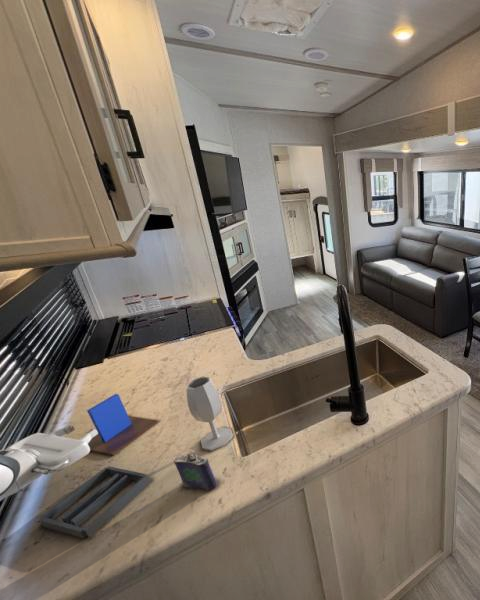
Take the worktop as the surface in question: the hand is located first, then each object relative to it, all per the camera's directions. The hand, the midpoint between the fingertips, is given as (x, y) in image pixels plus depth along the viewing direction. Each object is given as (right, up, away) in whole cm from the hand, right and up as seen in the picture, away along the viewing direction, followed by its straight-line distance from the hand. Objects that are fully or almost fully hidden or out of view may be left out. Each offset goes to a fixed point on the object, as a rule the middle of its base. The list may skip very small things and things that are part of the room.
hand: (83, 428), depth 90 cm
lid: (+2, -5, +8) cm, 10 cm away
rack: (+18, -13, -14) cm, 26 cm away
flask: (+42, -10, -11) cm, 44 cm away
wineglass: (+37, -5, +4) cm, 38 cm away
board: (+2, -6, +9) cm, 11 cm away
